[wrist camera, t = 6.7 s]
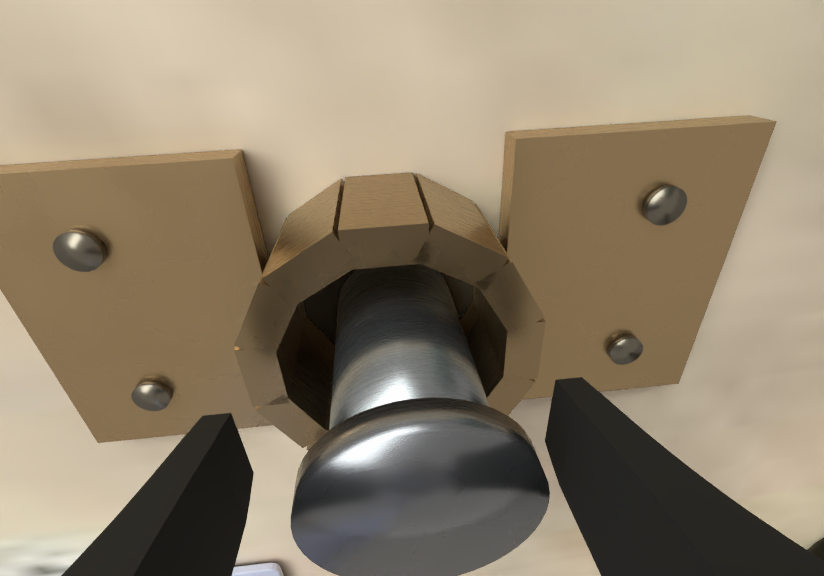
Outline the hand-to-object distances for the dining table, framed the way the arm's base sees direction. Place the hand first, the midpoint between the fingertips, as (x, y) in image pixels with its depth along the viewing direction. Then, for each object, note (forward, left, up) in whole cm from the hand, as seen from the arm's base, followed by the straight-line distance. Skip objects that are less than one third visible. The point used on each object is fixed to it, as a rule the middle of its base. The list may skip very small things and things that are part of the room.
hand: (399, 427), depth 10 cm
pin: (-1, 0, -6) cm, 6 cm away
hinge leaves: (0, 0, -6) cm, 6 cm away
